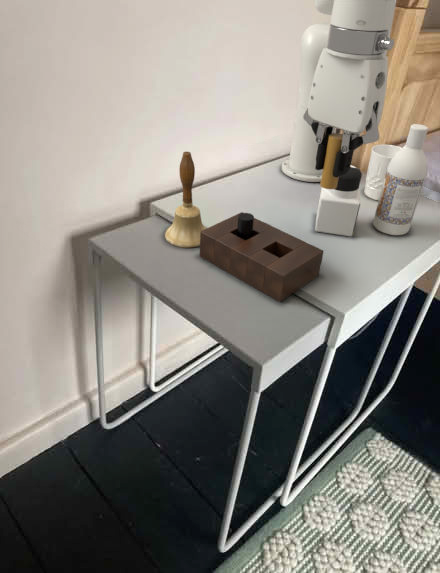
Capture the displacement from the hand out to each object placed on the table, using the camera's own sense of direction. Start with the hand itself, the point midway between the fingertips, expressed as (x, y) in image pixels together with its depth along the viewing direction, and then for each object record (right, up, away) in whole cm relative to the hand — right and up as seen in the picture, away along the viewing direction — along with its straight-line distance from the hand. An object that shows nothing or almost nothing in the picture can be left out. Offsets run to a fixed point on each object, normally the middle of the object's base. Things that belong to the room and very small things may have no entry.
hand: (331, 170), depth 77 cm
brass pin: (0, -2, +2) cm, 3 cm away
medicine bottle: (+5, -6, +20) cm, 22 cm away
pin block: (-11, -15, +7) cm, 20 cm away
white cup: (+18, +2, +33) cm, 38 cm away
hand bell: (-23, -9, +14) cm, 29 cm away
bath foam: (+16, -7, +21) cm, 27 cm away
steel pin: (-13, -13, +9) cm, 21 cm away
